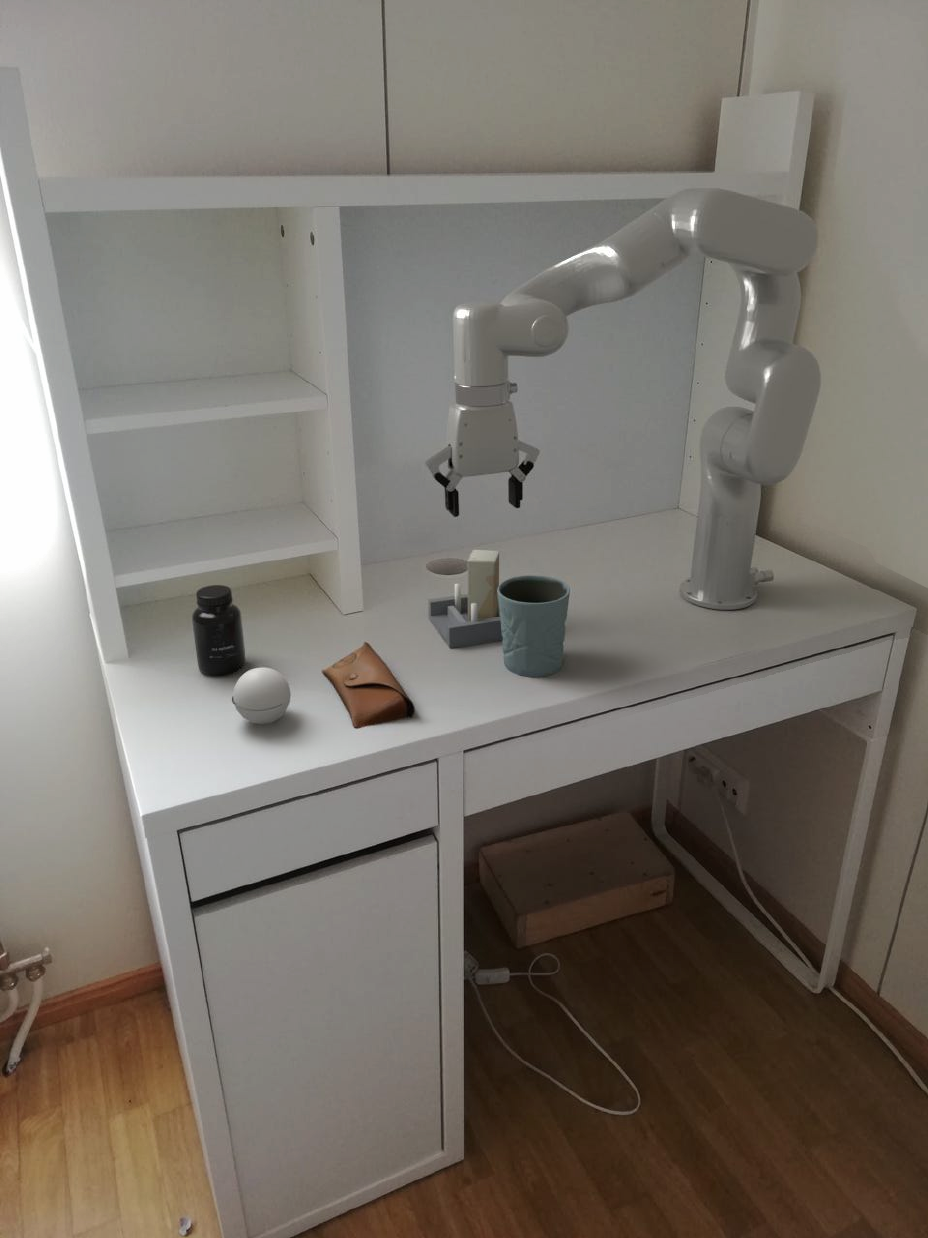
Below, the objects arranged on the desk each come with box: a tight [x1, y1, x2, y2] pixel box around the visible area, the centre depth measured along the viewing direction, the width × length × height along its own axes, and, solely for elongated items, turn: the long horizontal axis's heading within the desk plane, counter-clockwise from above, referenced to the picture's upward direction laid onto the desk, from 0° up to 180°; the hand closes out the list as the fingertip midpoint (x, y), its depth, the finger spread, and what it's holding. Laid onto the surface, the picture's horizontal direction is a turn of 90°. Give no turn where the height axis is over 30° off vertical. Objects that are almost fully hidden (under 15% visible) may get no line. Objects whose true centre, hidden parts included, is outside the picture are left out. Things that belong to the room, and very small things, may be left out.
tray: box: [427, 583, 503, 649], centre depth 143 cm, size 14×11×6 cm
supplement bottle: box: [191, 584, 247, 677], centre depth 130 cm, size 7×7×12 cm
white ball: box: [231, 667, 292, 725], centre depth 117 cm, size 10×7×7 cm
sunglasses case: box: [321, 641, 415, 729], centre depth 125 cm, size 18×7×7 cm
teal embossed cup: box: [497, 574, 571, 678], centre depth 130 cm, size 10×10×12 cm
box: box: [467, 549, 500, 621], centre depth 141 cm, size 5×4×11 cm
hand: (484, 509), depth 136 cm, fingers open, 9 cm apart
